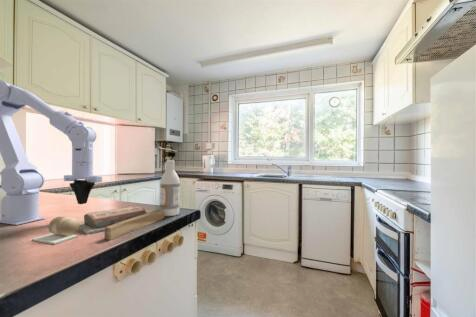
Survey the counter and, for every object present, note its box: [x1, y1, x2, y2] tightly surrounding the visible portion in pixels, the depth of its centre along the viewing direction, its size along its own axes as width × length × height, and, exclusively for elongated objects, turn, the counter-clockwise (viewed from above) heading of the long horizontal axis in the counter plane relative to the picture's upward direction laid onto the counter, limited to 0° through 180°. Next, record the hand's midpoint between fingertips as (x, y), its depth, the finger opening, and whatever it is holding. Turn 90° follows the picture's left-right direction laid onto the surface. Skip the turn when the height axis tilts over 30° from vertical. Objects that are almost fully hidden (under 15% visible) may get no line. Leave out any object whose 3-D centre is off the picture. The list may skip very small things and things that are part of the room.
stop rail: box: [104, 208, 165, 241], centre depth 68 cm, size 2×22×3 cm, turn 162°
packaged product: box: [78, 205, 147, 235], centre depth 71 cm, size 18×5×10 cm
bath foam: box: [159, 159, 181, 217], centre depth 84 cm, size 7×7×20 cm
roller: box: [48, 216, 80, 236], centre depth 59 cm, size 5×4×4 cm
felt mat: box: [31, 232, 79, 245], centre depth 57 cm, size 8×6×1 cm
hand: (82, 203), depth 75 cm, fingers closed
